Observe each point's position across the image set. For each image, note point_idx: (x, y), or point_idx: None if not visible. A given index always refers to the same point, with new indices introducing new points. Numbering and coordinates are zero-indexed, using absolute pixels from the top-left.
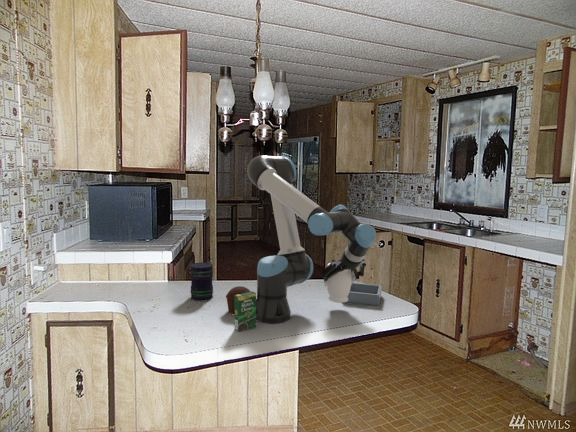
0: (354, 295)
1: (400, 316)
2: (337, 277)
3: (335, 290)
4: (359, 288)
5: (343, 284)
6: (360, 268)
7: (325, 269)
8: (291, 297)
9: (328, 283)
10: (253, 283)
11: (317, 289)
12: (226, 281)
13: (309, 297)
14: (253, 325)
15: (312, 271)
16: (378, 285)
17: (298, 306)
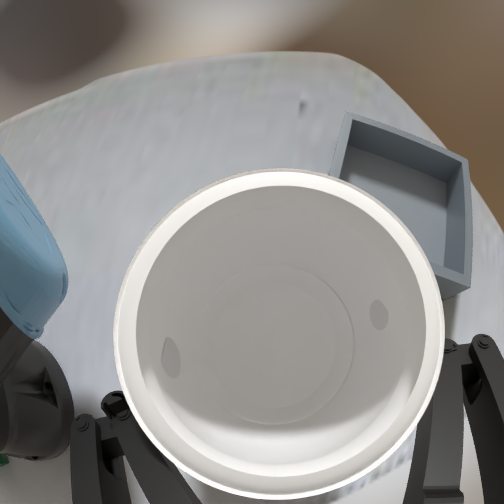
0: None
1: None
2: (236, 451)
3: (237, 414)
4: (388, 145)
5: (293, 439)
6: (490, 448)
7: (78, 486)
8: (112, 204)
9: (184, 375)
10: (65, 107)
11: (229, 116)
12: (25, 113)
13: (176, 198)
14: (1, 465)
15: (45, 297)
16: (459, 158)
17: (110, 308)
